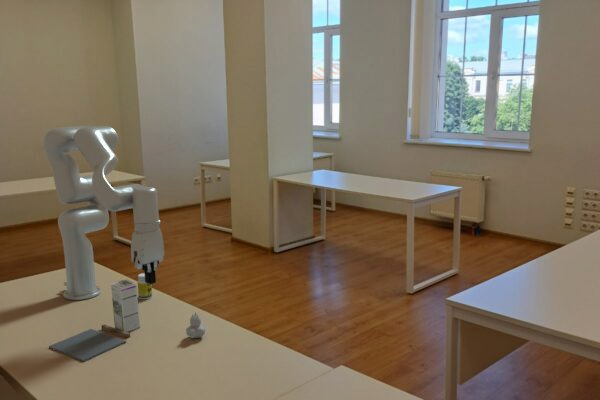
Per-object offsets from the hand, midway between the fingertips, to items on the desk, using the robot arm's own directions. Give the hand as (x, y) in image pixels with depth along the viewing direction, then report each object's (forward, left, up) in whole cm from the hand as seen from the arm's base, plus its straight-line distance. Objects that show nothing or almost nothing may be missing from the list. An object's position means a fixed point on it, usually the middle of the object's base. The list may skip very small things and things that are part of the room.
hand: (150, 282), depth 176 cm
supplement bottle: (-16, +11, -12) cm, 23 cm away
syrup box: (0, -10, -12) cm, 16 cm away
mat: (0, -24, -12) cm, 27 cm away
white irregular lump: (+23, -4, -12) cm, 26 cm away
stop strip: (0, -14, -12) cm, 19 cm away
